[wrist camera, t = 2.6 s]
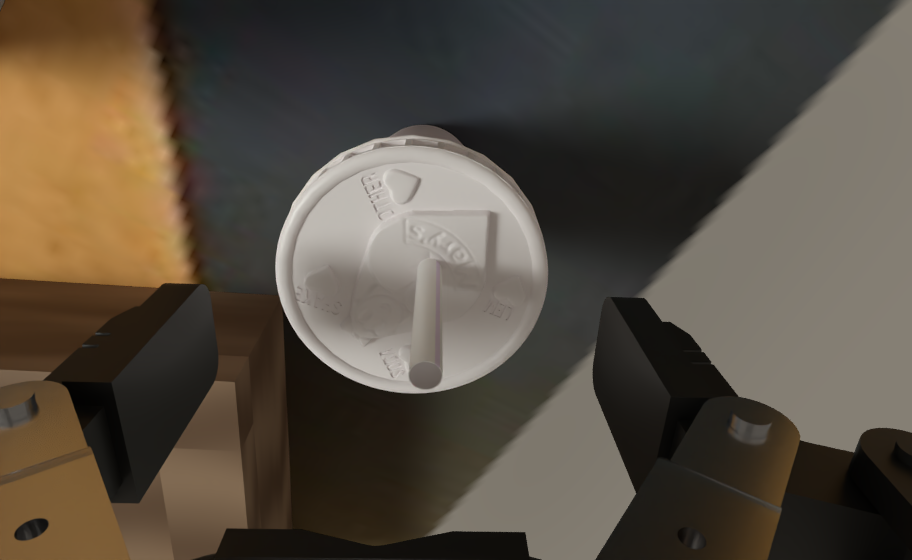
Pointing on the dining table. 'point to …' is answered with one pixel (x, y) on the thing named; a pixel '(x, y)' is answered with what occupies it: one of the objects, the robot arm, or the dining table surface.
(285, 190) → the dining table surface
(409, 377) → the smoothie
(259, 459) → the walnut tray
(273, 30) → the dining table surface
